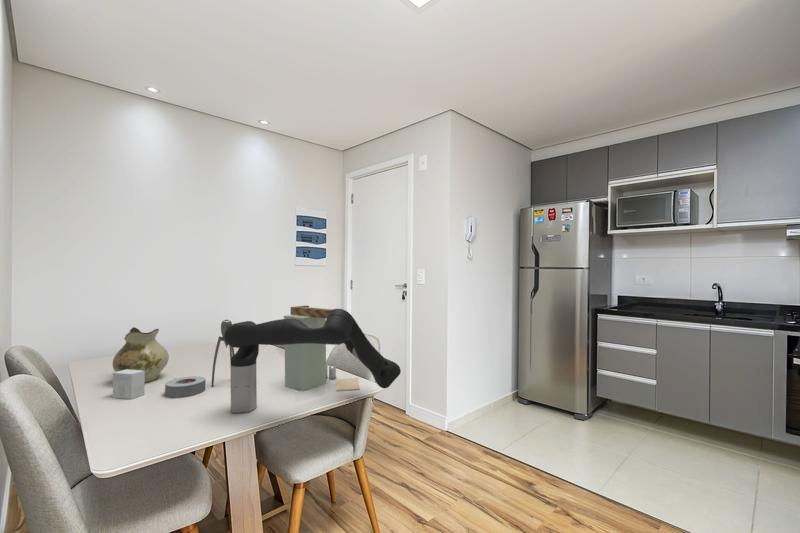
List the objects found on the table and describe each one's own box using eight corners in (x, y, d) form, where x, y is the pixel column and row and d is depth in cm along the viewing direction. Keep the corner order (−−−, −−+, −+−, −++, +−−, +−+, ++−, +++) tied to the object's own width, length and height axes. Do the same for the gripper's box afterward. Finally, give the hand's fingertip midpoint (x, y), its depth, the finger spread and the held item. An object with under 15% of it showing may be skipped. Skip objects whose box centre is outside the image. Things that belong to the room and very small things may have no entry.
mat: (359, 389, 166) (359, 388, 166) (336, 391, 164) (336, 389, 164) (357, 379, 182) (357, 377, 182) (336, 380, 180) (336, 379, 180)
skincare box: (145, 394, 162) (145, 370, 162) (131, 399, 156) (131, 374, 156) (126, 392, 165) (126, 368, 165) (112, 397, 158) (111, 372, 158)
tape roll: (193, 384, 175) (192, 374, 175) (212, 390, 167) (212, 378, 167) (157, 394, 162) (157, 382, 162) (177, 401, 154) (177, 388, 154)
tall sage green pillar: (327, 382, 176) (326, 314, 176) (302, 391, 164) (301, 318, 164) (309, 378, 184) (308, 312, 183) (283, 386, 172) (283, 316, 172)
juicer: (211, 386, 172) (210, 320, 172) (232, 380, 181) (231, 317, 181) (225, 390, 167) (225, 322, 167) (246, 383, 177) (246, 319, 177)
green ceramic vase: (148, 387, 171) (148, 332, 172) (97, 387, 172) (97, 332, 172) (178, 373, 194) (178, 325, 194) (133, 374, 194) (132, 325, 194)
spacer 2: (335, 379, 181) (335, 367, 181) (329, 379, 181) (328, 367, 181) (335, 377, 185) (335, 365, 185) (329, 377, 184) (329, 365, 184)
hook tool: (343, 316, 169) (343, 308, 169) (329, 318, 162) (329, 310, 162) (304, 312, 184) (304, 305, 184) (290, 314, 177) (290, 307, 177)
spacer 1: (327, 378, 183) (327, 366, 183) (320, 379, 182) (320, 366, 182) (327, 376, 186) (327, 364, 186) (321, 377, 185) (320, 365, 185)
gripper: (374, 338, 159) (350, 316, 167) (351, 344, 147) (326, 320, 156) (367, 352, 161) (343, 330, 169) (344, 359, 150) (320, 335, 158)
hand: (335, 325), depth 162 cm, fingers open, 8 cm apart
